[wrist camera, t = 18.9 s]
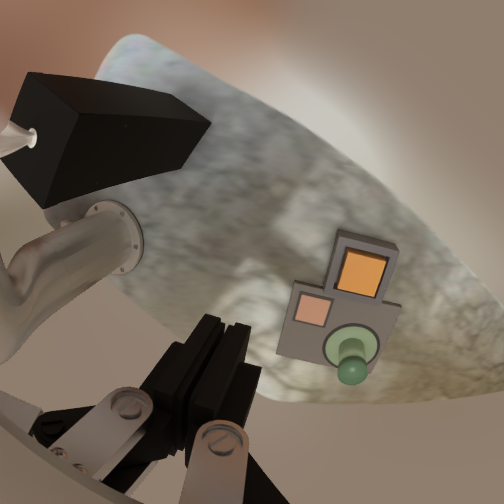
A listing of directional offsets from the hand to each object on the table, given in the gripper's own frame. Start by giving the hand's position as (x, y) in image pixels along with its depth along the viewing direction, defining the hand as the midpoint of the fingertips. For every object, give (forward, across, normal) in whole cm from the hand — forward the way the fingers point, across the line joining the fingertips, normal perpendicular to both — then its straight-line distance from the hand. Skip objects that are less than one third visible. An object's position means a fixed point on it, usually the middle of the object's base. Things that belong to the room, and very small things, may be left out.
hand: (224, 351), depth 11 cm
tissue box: (+31, +18, -6) cm, 37 cm away
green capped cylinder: (+30, -13, +20) cm, 38 cm away
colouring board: (+31, -10, +18) cm, 37 cm away
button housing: (+31, -10, +7) cm, 33 cm away
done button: (+30, -10, +7) cm, 32 cm away
